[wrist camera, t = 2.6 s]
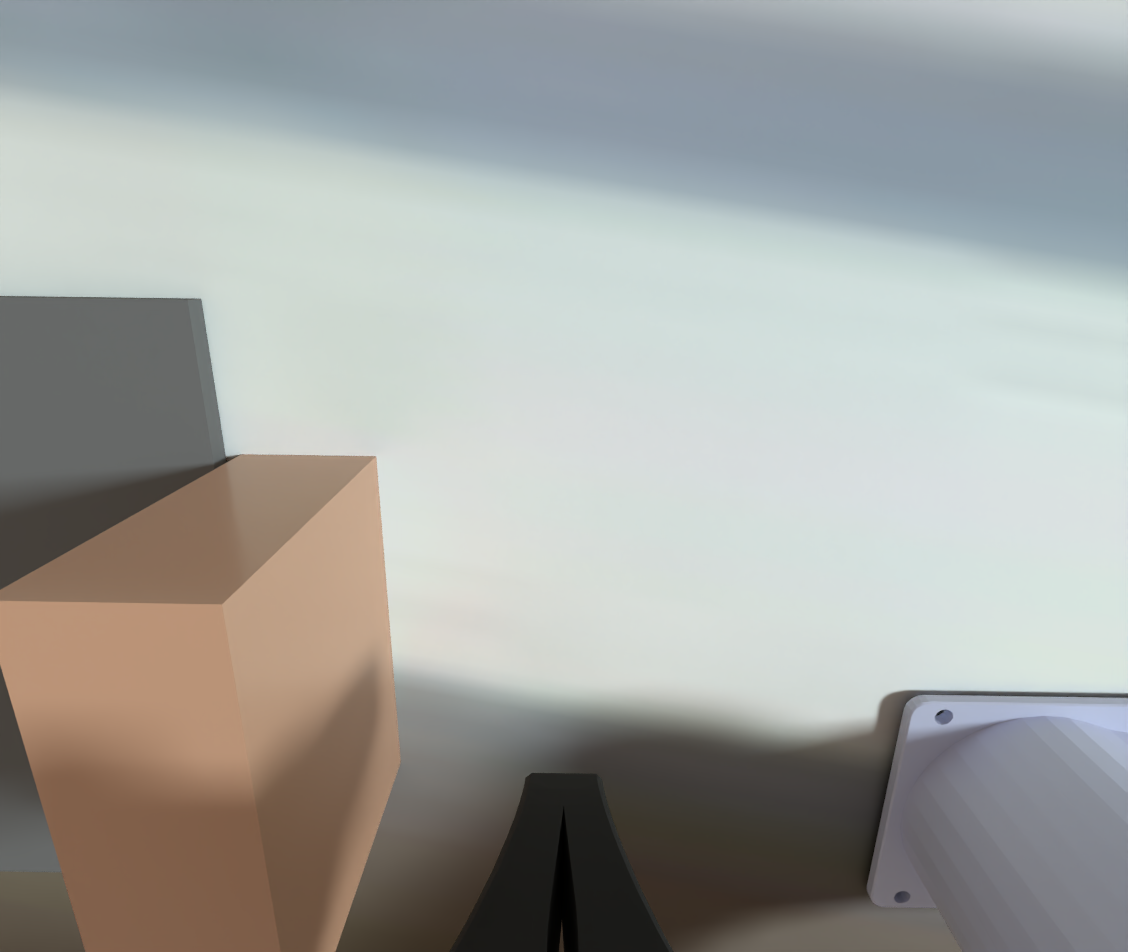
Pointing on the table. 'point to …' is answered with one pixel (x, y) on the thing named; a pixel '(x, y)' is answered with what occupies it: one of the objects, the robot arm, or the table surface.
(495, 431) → the table surface
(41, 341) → the mat
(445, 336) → the table surface
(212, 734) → the terracotta block
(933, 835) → the robot arm
